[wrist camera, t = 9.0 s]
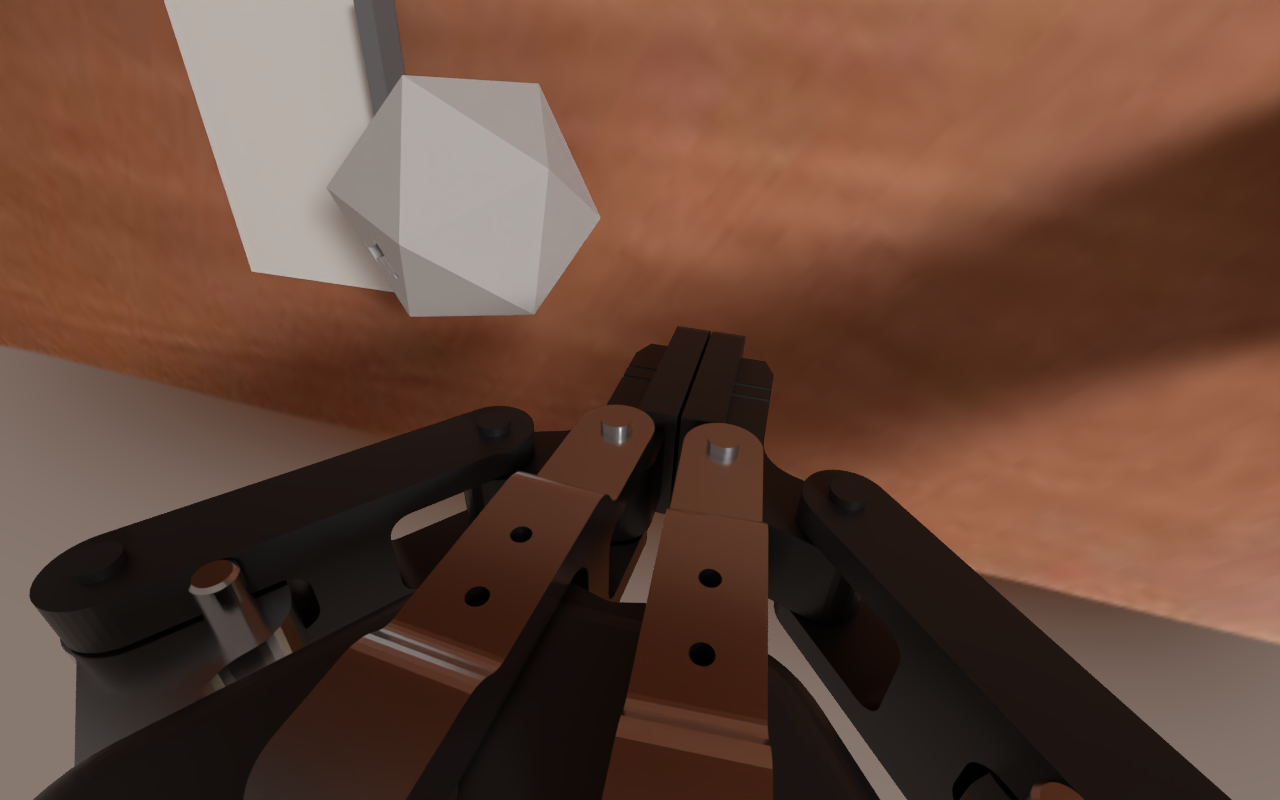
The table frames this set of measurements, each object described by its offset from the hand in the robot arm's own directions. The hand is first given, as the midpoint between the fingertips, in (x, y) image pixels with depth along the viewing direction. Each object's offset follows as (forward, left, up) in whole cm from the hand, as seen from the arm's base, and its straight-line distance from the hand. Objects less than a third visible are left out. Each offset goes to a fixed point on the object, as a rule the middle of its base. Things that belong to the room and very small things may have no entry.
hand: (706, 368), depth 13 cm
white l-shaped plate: (+21, 0, -14) cm, 26 cm away
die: (+10, 0, -15) cm, 18 cm away
